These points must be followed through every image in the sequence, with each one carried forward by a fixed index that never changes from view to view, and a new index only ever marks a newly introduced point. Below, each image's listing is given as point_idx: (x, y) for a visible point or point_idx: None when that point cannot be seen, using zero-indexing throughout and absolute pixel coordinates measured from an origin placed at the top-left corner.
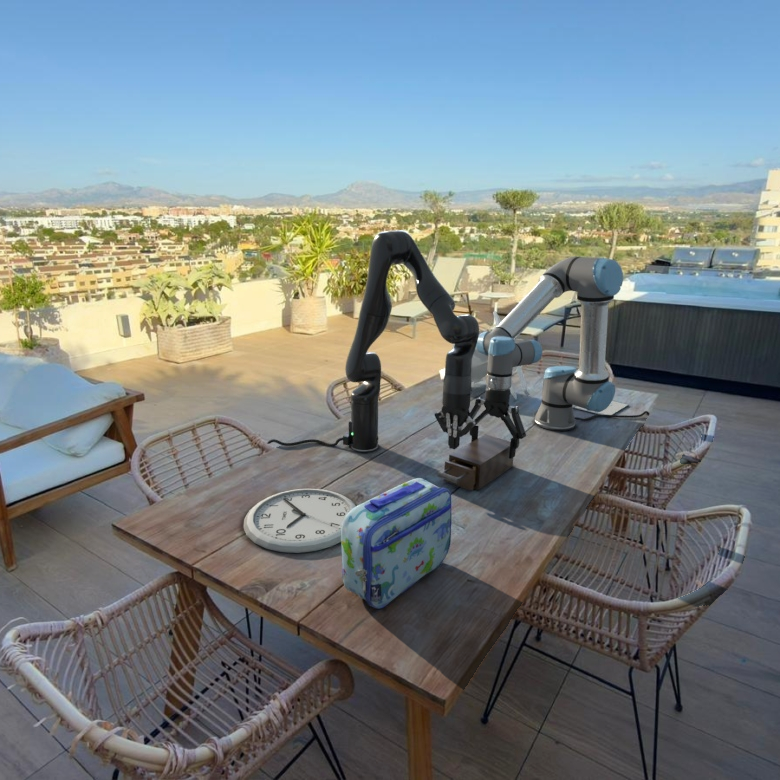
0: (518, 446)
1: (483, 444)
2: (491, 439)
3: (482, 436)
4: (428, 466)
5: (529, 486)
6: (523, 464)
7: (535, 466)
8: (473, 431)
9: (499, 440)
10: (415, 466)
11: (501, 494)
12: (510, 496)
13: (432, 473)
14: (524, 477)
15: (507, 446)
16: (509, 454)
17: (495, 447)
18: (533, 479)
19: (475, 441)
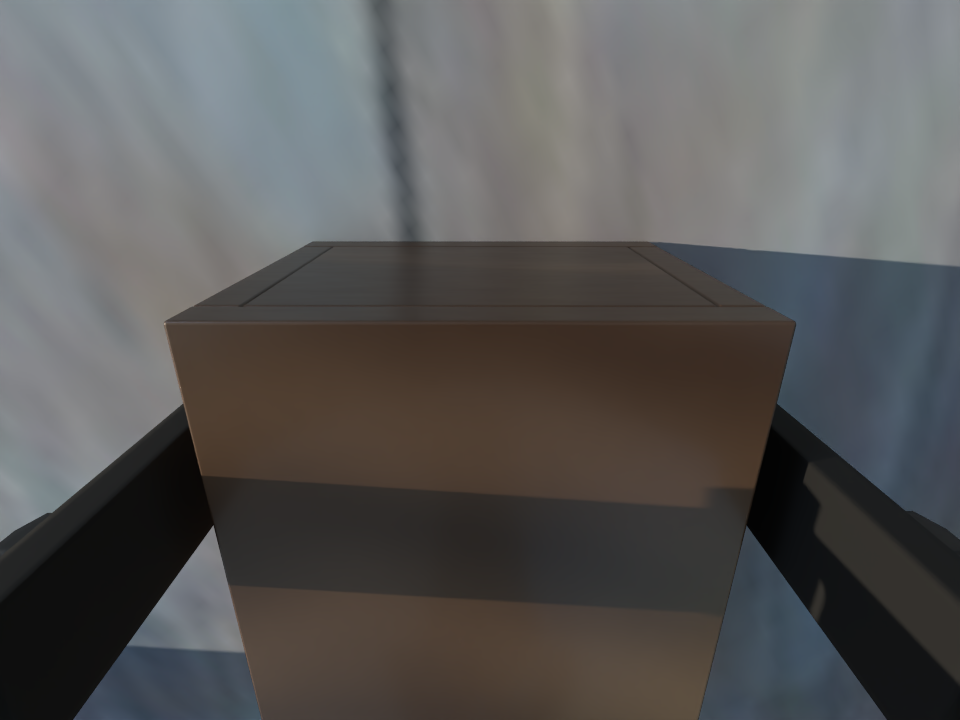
0: (942, 535)
1: (413, 656)
2: (393, 455)
3: (205, 442)
4: (149, 648)
5: (882, 484)
6: (733, 114)
7: (869, 65)
8: (82, 687)
9: (520, 409)
10: (97, 689)
11: (731, 665)
12: (789, 655)
13: (246, 696)
14: (813, 378)
15: (728, 528)
16: (750, 526)
17: (592, 643)
18: (895, 363)
19: (272, 643)
